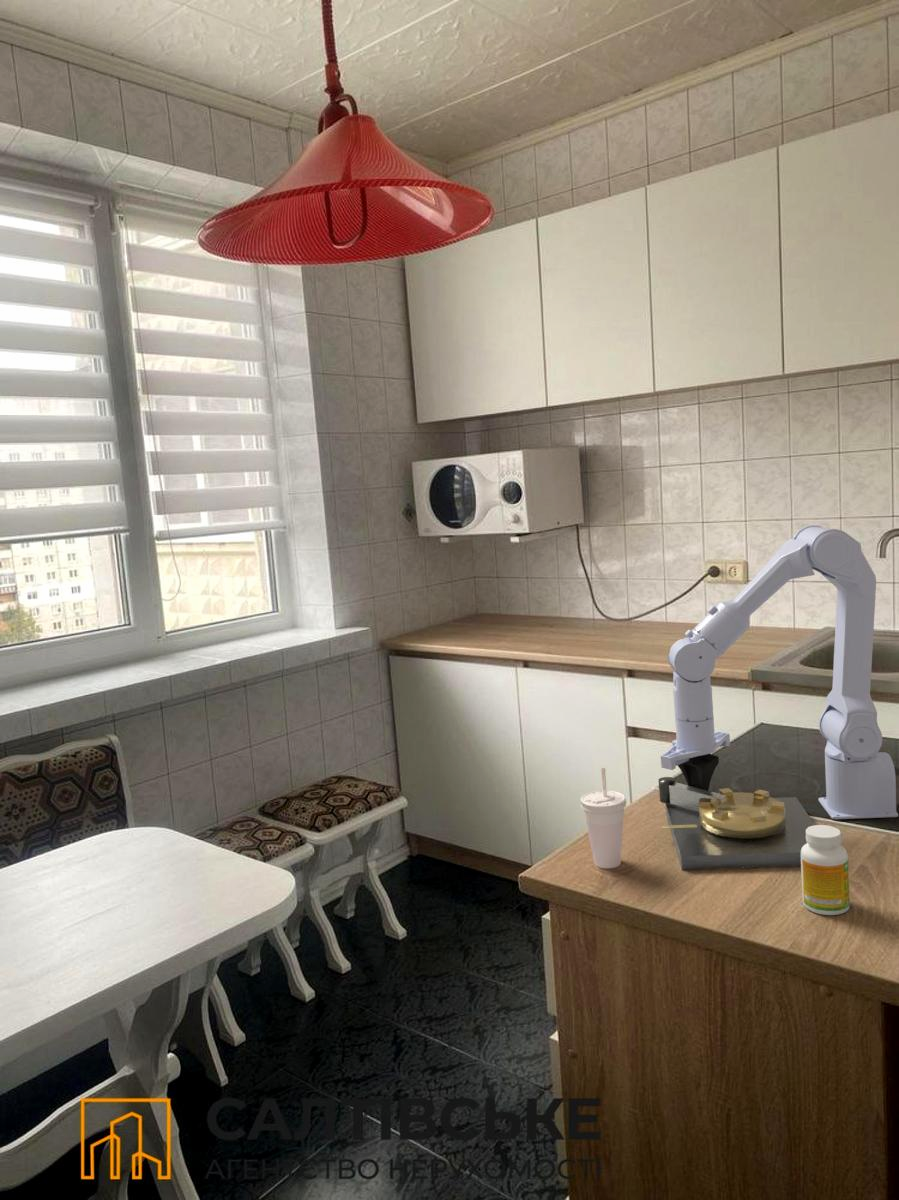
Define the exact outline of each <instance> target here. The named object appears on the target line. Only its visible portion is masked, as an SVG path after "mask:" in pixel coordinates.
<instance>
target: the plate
mask: <svg viewBox="0 0 899 1200" xmlns="http://www.w3.org/2000/svg"><path fill="white" fill-rule="evenodd" d="M773 798H774V799H776V800H778V801H780V802H784V807H785V821H786V825H785V827H784V829H782V830H781V831H780V832H778V833H776V834H773V835H770V836H766V837H760V838H733V837H726V836H722V835H718V834H715V833H712V832H710V831H708V830H706V829H705V828H703V827H702V825H701V824H700V818H699V812H698V811H695V810H691V809H688V808H685V807H681V806H678V805H674V804H671V803H664V804H665V816H666V818H667V822H668V824H667V825H661V827H662V830H670V833H671V836H672V841H673V844H674V847H675V850H676V853H677V858H678V861H679V865H680V867H681V870H682V871H690V870H691V871H694V870H697V869H698V870H724V869H723V868H731V869H747V868H746V867H749V868H748V869H759V868H760V867H761V868H762V867H765V868H791V866H792V867H793V866H794V867H793V868H795V867H796V866H798V867H801V849H802V847H803V846H804V845H805V844H807V842H806V829H807V828H808V827H810V826H814V825H816V824H815V823H814V821H813V820H812V818H811V817H810V815H809V814H808V813H807V811H806V810H805V808H804V806H803V805H802V803H801V802H800V801H799V800H798V798H797V797H796V796H793V797H792V796H791V797H787V796H786V797H773ZM742 867H744V868H742ZM751 867H752V868H751ZM755 867H756V868H755ZM758 867H759V868H758ZM720 868H722V869H720ZM762 869H763V868H762Z"/></svg>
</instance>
